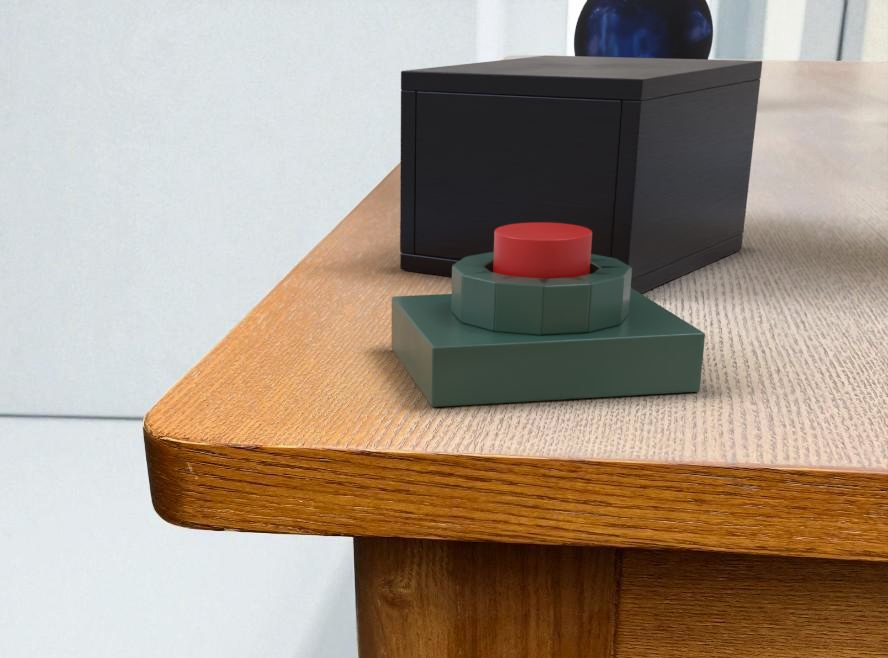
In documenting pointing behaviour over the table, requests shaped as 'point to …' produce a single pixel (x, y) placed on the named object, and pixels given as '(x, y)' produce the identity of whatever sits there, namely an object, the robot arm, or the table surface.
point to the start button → (542, 250)
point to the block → (542, 338)
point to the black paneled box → (579, 158)
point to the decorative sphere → (644, 29)
